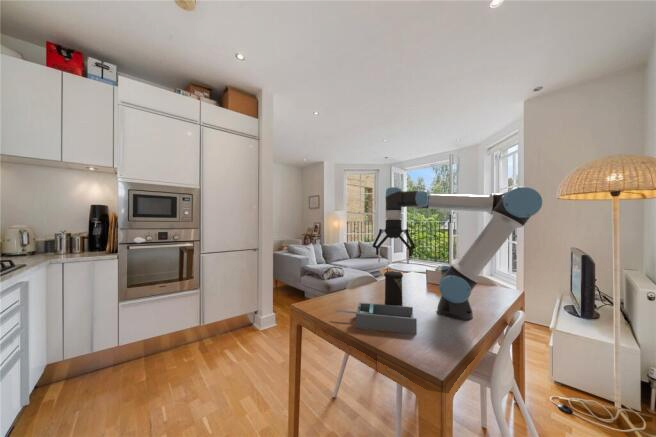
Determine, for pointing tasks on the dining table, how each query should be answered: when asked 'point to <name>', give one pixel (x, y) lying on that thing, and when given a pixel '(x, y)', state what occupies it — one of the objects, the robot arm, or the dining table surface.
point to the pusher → (360, 312)
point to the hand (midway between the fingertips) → (393, 262)
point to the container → (393, 288)
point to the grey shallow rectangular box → (386, 318)
